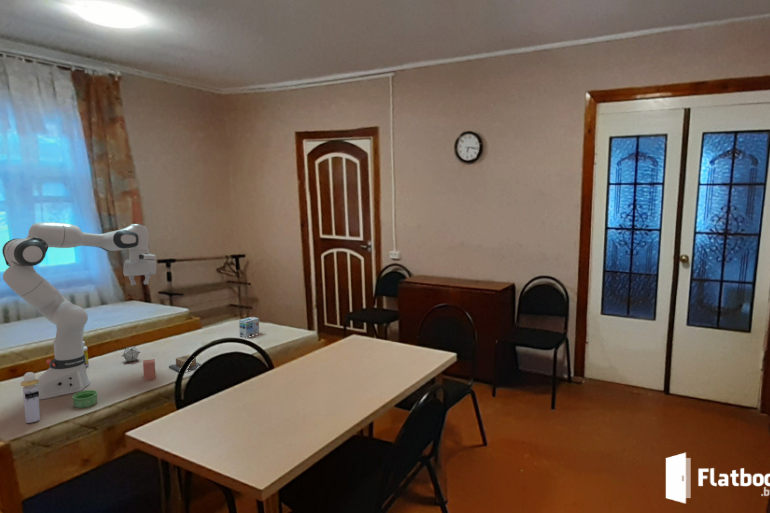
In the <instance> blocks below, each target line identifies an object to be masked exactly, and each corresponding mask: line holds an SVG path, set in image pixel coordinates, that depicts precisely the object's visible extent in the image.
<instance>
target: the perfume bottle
mask: <svg viewBox="0 0 770 513" xmlns="http://www.w3.org/2000/svg"><path fill="white" fill-rule="evenodd" d="M37 383H39V380H38V378H36V374H35V373H34V372H32V371H29V372H26V373H25V374H23V381H21V382H20V383H19V384H20V386H21V387H22V393H23V395H22V396H23V406H24V407H23V408H24V417H25V423H30V424H31V423H35V422H38V421H39V420H41V412H40V410H41V409H40V399H39V397H38V396H39V391H38V386H37V385H36V384H37Z"/></svg>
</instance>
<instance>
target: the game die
mask: <svg viewBox="0 0 770 513" xmlns="http://www.w3.org/2000/svg"><path fill="white" fill-rule="evenodd" d="M136 346H137V345H134V346H130V347H126V346H124V352H123V355H121V357H123V358H124V359H125V361H126V364H128V362H132V361H136V362H138V360H139V359H138V357H139V354H140V353H141V351H139V350H138V348H136Z"/></svg>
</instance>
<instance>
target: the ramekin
mask: <svg viewBox="0 0 770 513" xmlns="http://www.w3.org/2000/svg"><path fill="white" fill-rule="evenodd" d="M98 394H99V393H98V391H97V390H95V389H87V390H81V391H79V392H75V393H74V394H73V395H72V396H71V398H72V401H73V406H74V407H75V408H77V409H84V408H89V407H92V406H94V405H96V404H97V401H98Z"/></svg>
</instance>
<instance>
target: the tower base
mask: <svg viewBox="0 0 770 513" xmlns="http://www.w3.org/2000/svg"><path fill="white" fill-rule="evenodd" d="M190 356H191V355H190V354H187V355H186V354H185V355H182V356H178V357H176V358H175V364H171V365H169V366H168V368H169V369H170V370H172V371H174V372H177V373H179V370H180V368H181V367H182V366H183V364H184V363H185V361H186V360H187V359H188V358H189V357H190ZM201 364H202V363H199V362H197V358H196V357H195V359H194V360H193V361H192V363H191V364H190V366H189V368H188V369H187V370H188V372H190V371H189V370H192V371H194V370H197V369H196V368H197V367H198V366H200V365H201Z"/></svg>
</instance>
